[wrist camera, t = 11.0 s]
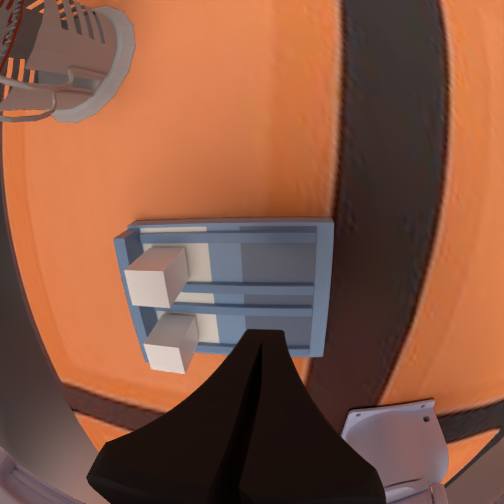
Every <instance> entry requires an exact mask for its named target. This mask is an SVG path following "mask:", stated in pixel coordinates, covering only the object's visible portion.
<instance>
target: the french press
mask: <svg viewBox="0 0 504 504" xmlns="http://www.w3.org/2000/svg"><path fill="white" fill-rule="evenodd" d="M35 1H37V0H0V111H5V110H6V111H13V110H11V109H14V110H34V109H35V110H46V112H45V113H43V114H41V115H33V116H22V117H6V116H0V121H2V122H29V121H38V120H41V119H44V118H47V117H48V116H49V115H51V116H52V117H53V118H55V119H56V120H57V121H59V122H70V123H77V122H79V121H81V120H84V119H86V118H88V117H90V116H92V115H95V114H96V113H97V112H98V111H99V110H100V109H101V108H102V107H103V106H104V105H105V104H106V103H107V102H109V101H110V100H111V99H112V98H113V97H114V96H115V94H116V92H117V90H118V89H119V87H120V85H121V84H122V82H123V80H124V79H125V77H126V75H127V74H128V72H129V68H130V64H131V61H132V57H133V53H134V50H135V38H134V27H133V24H132V23H131V21H130V20H129V19H128V17H127V16H126V14H125V13H124V12H123V11H121V10H118V9H115V8H112V7H109V6H103V7H98V8H92V9H90V8H88V7H86V6H80V4H79V2H76V1H73V0H69V1H68V0H62V1H63V3H61V4H59V5H57V2H56V1H58V0H44V2H43V3H42V4H40V5H38V6H37V7H35V8H33V9H32V10H30V9H26V7H27V6H29V5H31V4H32V3H34V2H35ZM71 4H74V5H75V7H73V8H71V6H70V5H71ZM43 8H44V13H40V12H38V11H40V10H42V9H43ZM62 8H64V9H65V11H64V12H62V13H60V14H59V10H60V9H62ZM84 8H85V9H86V11H85V12H83V10H82V9H84ZM75 11H77V13H78V14H76V15H74V16H73V14H72V13H73V12H75ZM65 16H66V18H67V19H66V20H61V18H63V17H65ZM8 57H11V58H14V60H13V71H12V76H11V79H10V78H7V77H6V73H7V66H8ZM20 59H25V66H24V74H23V80H22V82H20V81H17V79H18V74H19V65H20ZM30 69H31V70H35V75H34V81H33V83H28V82H29V75H30ZM4 84H5V85H9V91H8V96H7V97H6V99H4V100H3V101H2V102H1V96H2V92H3V88H4Z"/></svg>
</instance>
